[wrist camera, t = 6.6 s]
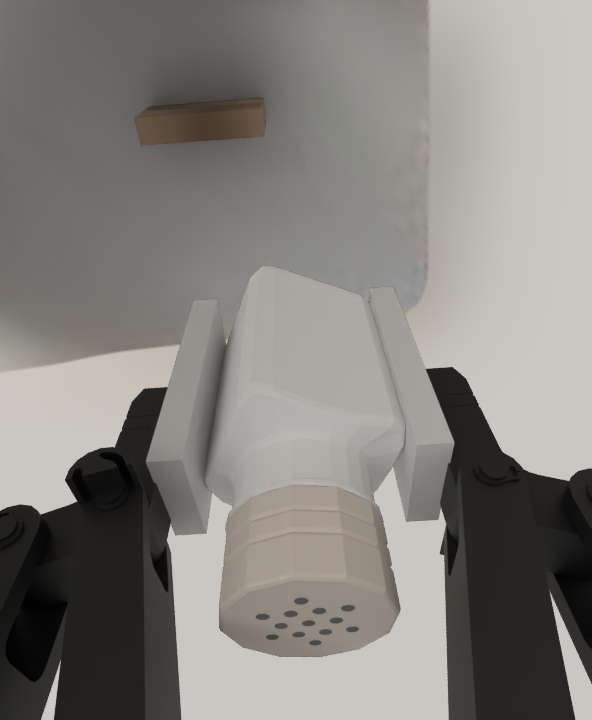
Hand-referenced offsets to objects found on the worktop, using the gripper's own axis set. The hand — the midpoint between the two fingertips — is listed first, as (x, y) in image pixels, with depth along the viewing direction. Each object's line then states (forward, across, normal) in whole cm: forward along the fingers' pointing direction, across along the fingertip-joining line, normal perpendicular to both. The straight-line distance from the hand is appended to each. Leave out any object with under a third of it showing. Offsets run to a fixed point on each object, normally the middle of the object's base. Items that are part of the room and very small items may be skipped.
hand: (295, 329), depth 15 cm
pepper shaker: (+1, 0, 0) cm, 1 cm away
